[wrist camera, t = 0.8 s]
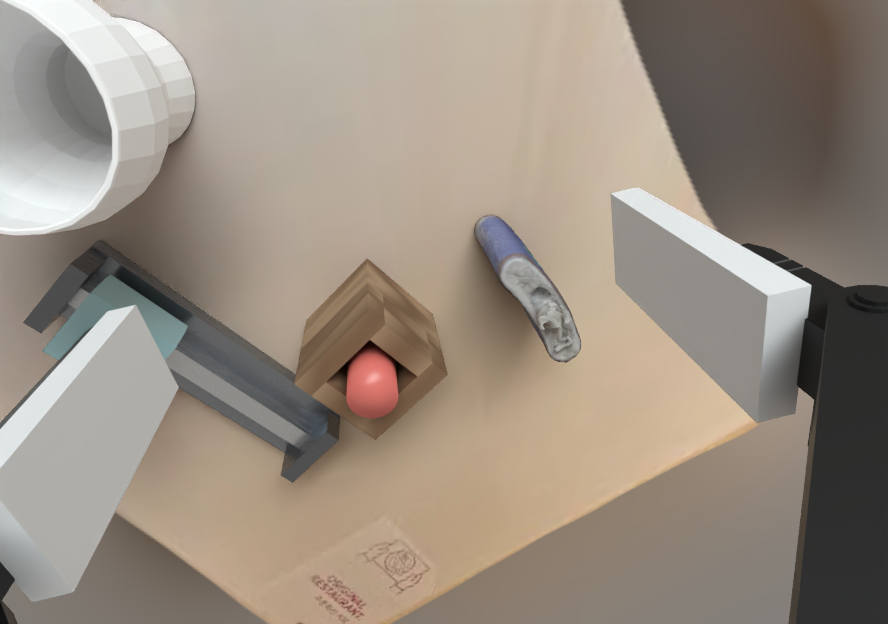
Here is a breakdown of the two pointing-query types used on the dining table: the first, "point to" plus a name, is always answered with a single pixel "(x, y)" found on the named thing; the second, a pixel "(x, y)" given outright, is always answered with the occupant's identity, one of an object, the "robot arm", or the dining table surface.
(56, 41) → the cup
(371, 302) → the open wooden box
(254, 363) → the rail track
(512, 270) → the flask
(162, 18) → the dining table surface
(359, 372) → the button
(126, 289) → the carriage
